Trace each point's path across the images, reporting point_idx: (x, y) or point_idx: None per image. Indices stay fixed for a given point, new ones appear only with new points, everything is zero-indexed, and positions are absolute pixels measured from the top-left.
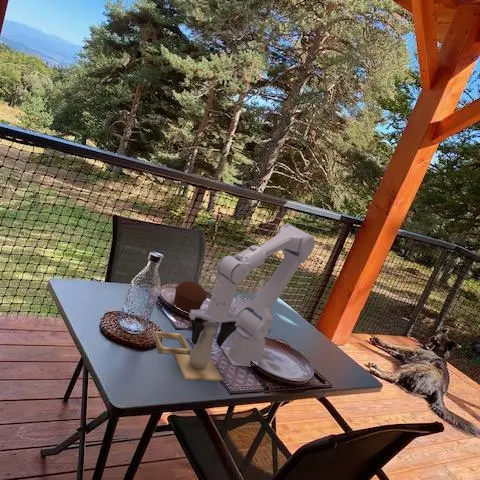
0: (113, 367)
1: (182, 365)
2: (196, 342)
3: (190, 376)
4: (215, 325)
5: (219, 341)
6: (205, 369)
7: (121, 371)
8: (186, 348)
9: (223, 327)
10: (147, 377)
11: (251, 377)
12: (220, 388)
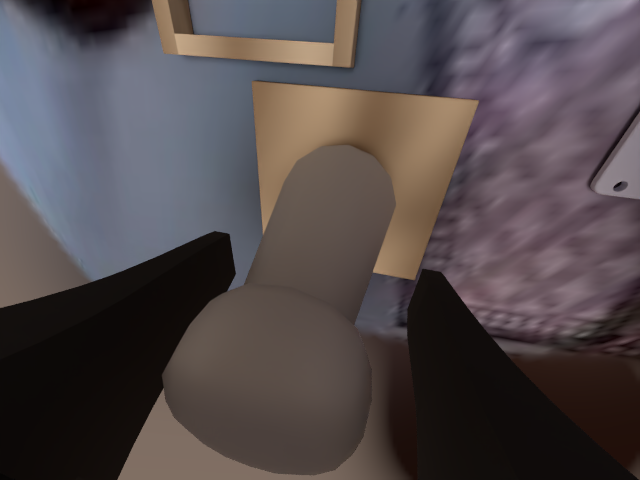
0: (46, 168)
1: (270, 185)
2: (223, 291)
3: None
4: (301, 471)
5: (415, 326)
6: None
7: (73, 189)
8: (337, 21)
9: (457, 477)
10: (149, 223)
11: (604, 278)
12: (378, 301)
